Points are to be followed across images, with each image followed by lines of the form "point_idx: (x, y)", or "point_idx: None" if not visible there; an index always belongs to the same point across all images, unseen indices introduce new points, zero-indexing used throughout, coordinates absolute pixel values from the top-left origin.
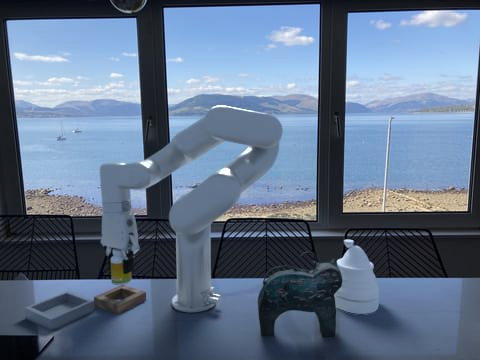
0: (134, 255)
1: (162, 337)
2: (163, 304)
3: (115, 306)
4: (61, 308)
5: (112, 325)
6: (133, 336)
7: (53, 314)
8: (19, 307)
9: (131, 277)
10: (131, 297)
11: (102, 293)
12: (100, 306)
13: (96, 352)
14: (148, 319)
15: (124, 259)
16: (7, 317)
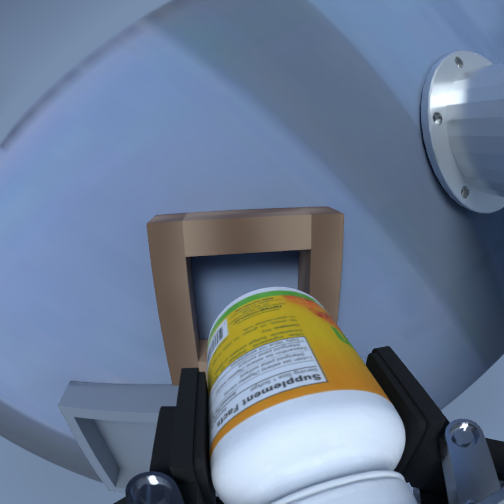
0: (479, 429)
1: (484, 330)
2: (411, 196)
3: None
4: (126, 427)
5: None
6: (432, 373)
7: (151, 450)
8: (40, 442)
9: (319, 304)
10: (327, 298)
11: (166, 348)
12: None
13: None
14: (426, 304)
15: (405, 477)
16: (81, 472)
